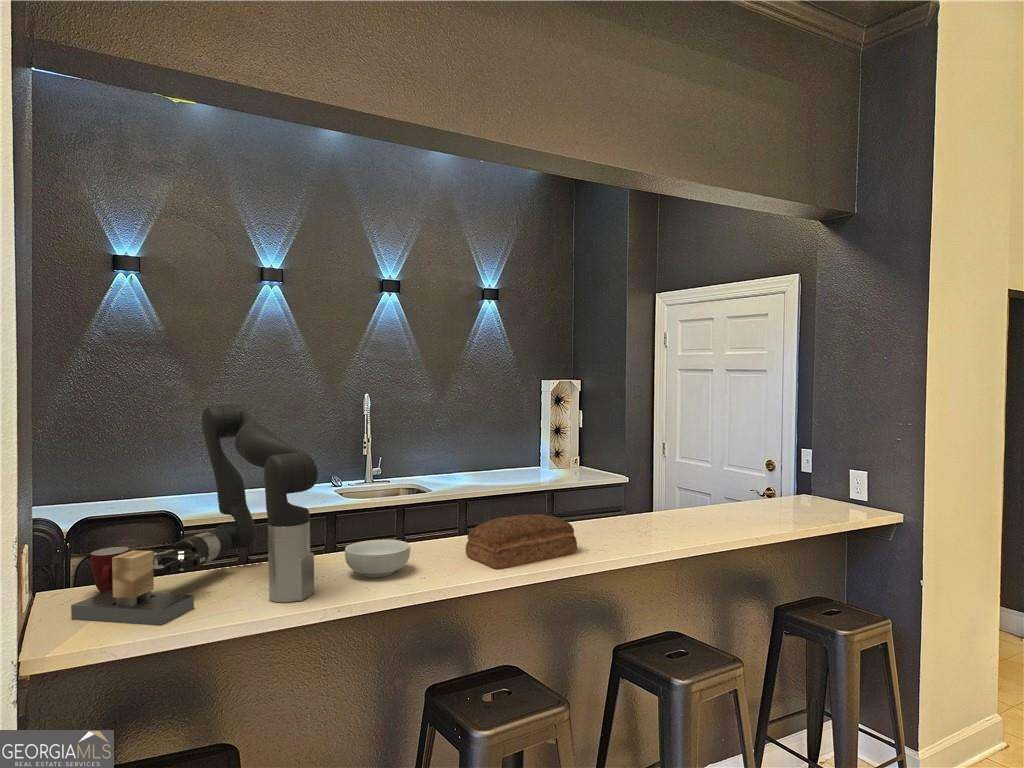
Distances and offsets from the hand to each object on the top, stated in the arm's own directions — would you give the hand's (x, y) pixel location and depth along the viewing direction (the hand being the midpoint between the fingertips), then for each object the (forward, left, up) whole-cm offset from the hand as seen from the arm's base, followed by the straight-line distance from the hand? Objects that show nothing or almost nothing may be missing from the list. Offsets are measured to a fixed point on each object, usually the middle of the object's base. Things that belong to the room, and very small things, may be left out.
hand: (149, 569), depth 148 cm
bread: (-75, -55, -9) cm, 93 cm away
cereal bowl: (-41, -32, -9) cm, 53 cm away
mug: (+16, -6, -9) cm, 19 cm away
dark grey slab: (0, +5, -8) cm, 10 cm away
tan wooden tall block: (0, +5, -8) cm, 10 cm away
